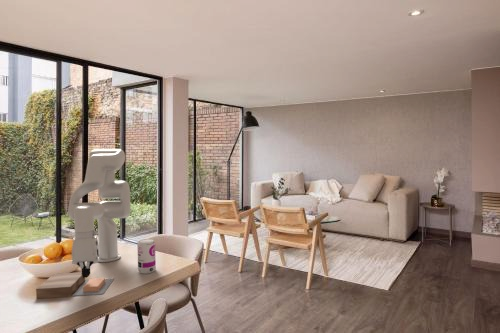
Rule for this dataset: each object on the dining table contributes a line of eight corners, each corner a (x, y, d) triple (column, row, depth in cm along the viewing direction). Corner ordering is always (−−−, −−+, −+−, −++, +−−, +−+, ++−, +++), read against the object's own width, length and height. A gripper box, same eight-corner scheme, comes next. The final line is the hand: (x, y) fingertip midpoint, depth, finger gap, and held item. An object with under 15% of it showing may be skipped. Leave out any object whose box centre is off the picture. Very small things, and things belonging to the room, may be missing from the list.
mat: (86, 280, 150) (86, 280, 150) (113, 279, 151) (113, 278, 151) (72, 296, 134) (72, 295, 134) (103, 294, 135) (103, 293, 135)
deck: (54, 282, 148) (54, 273, 147) (85, 280, 150) (84, 272, 149) (36, 298, 132) (36, 288, 132) (70, 296, 134) (70, 286, 133)
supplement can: (158, 268, 164) (158, 239, 163) (149, 275, 156) (148, 243, 155) (144, 267, 166) (143, 238, 165) (134, 273, 158) (133, 242, 157)
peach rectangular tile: (104, 277, 147) (105, 282, 147) (90, 278, 146) (91, 283, 146) (98, 286, 138) (98, 290, 138) (83, 287, 137) (83, 291, 137)
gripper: (105, 231, 146) (106, 272, 147) (69, 233, 143) (71, 274, 145) (100, 236, 138) (101, 279, 139) (62, 237, 136) (64, 281, 137)
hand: (86, 276), depth 142 cm, fingers closed
